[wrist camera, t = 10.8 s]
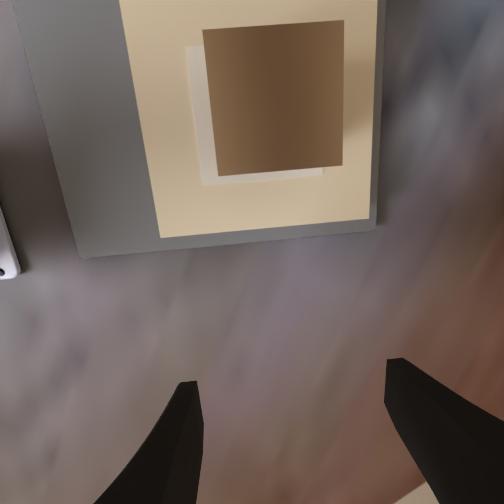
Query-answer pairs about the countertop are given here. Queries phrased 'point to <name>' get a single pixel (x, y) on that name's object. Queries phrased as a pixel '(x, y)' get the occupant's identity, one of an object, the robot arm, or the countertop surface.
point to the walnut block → (276, 96)
